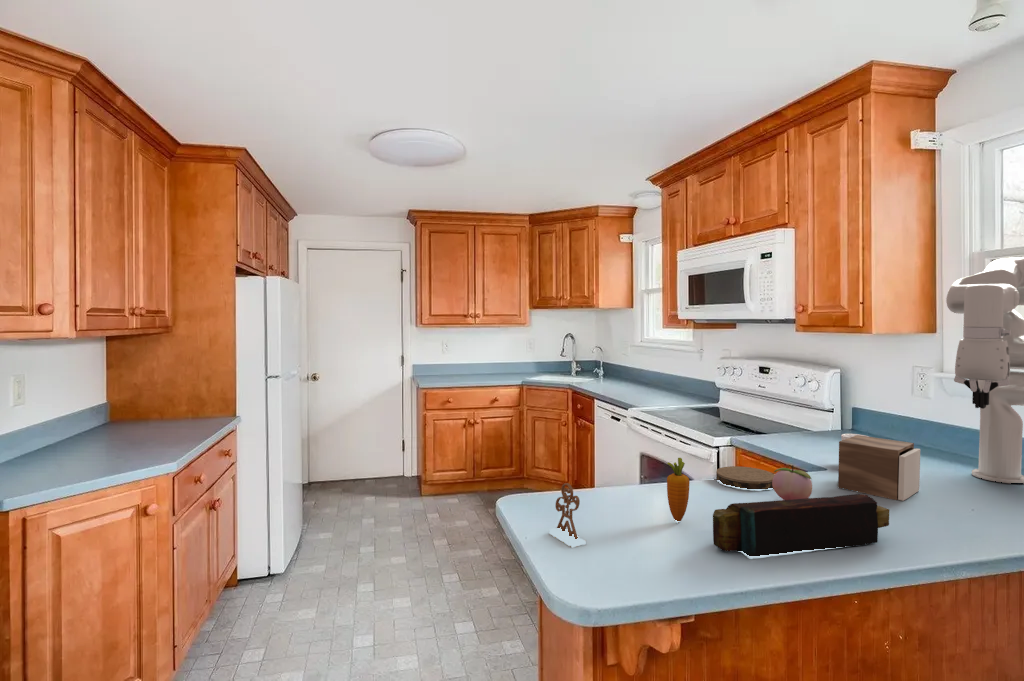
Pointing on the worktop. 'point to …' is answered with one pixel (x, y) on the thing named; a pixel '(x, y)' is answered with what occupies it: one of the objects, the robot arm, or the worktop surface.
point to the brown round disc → (745, 477)
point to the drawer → (909, 474)
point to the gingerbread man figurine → (567, 513)
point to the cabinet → (871, 465)
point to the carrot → (677, 490)
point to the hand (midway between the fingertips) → (980, 407)
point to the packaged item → (798, 524)
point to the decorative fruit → (792, 484)
